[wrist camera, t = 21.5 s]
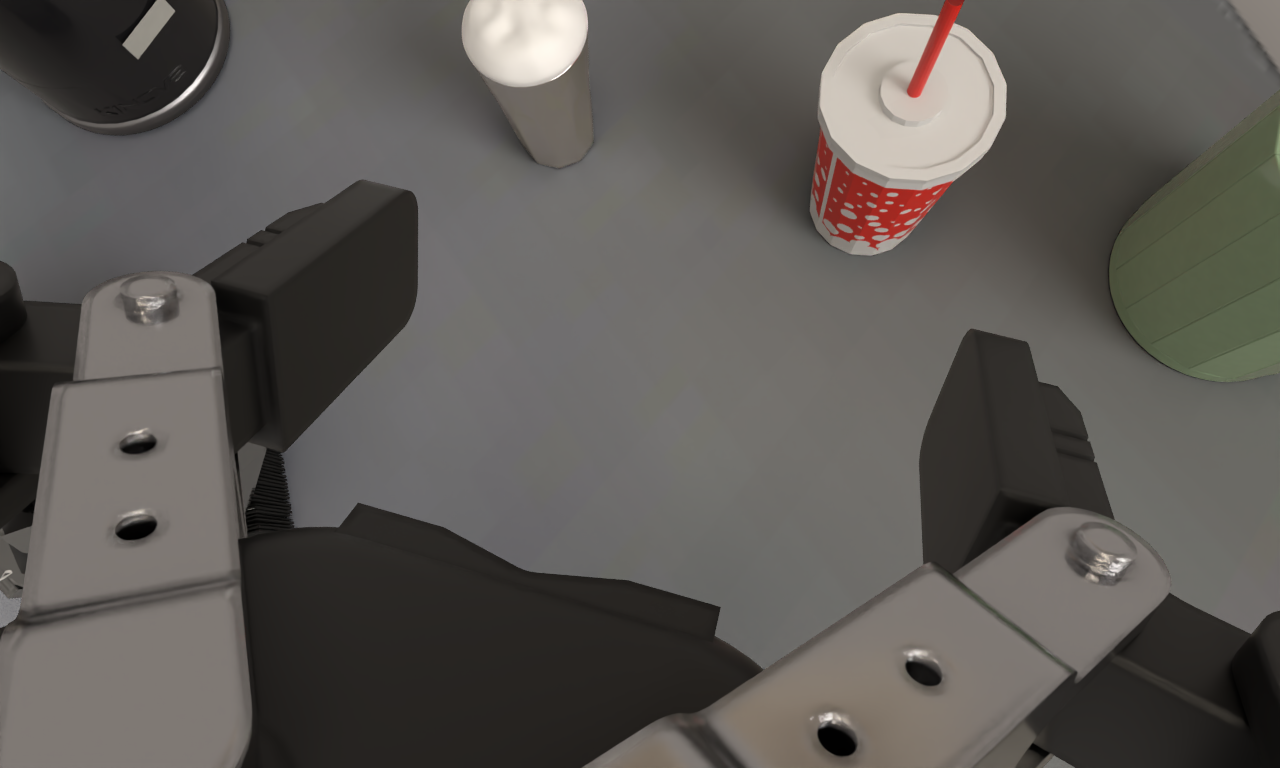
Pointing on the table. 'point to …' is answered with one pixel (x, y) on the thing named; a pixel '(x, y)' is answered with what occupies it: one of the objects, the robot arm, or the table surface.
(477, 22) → the milkshake
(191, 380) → the robot arm
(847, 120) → the beverage cup
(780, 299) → the table surface
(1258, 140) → the pen pot
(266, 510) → the cpu cooler
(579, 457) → the table surface
